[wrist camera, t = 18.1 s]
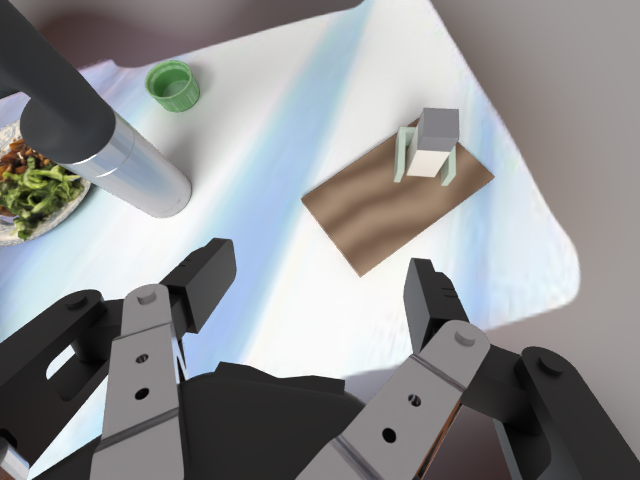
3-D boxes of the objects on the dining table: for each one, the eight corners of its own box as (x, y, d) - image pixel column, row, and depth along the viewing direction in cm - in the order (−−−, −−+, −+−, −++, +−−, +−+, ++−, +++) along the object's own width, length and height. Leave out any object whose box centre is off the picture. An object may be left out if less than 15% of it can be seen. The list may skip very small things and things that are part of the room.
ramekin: (150, 106, 56) (134, 88, 51) (175, 73, 58) (162, 54, 53) (186, 121, 54) (173, 104, 50) (210, 87, 56) (200, 68, 52)
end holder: (447, 185, 45) (455, 174, 41) (393, 182, 45) (397, 170, 42) (447, 143, 47) (455, 129, 43) (395, 140, 48) (399, 126, 44)
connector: (434, 177, 45) (459, 138, 36) (406, 175, 46) (423, 136, 36) (434, 153, 46) (458, 109, 37) (407, 151, 47) (423, 107, 37)
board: (301, 201, 47) (300, 198, 46) (424, 117, 50) (426, 112, 49) (360, 277, 43) (360, 276, 42) (491, 180, 45) (494, 177, 44)
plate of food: (98, 237, 48) (65, 224, 43) (-53, 259, 49) (-105, 249, 43) (116, 111, 57) (91, 86, 52) (-12, 131, 58) (-51, 109, 52)
